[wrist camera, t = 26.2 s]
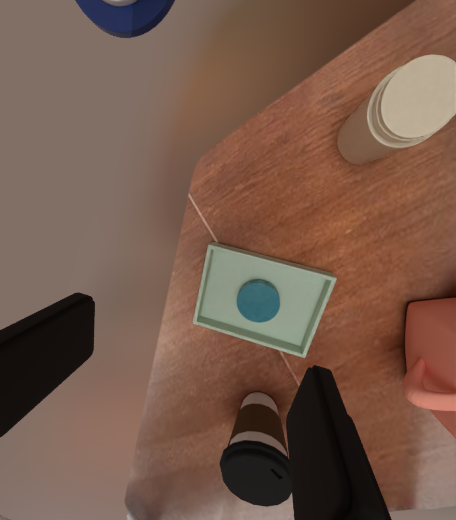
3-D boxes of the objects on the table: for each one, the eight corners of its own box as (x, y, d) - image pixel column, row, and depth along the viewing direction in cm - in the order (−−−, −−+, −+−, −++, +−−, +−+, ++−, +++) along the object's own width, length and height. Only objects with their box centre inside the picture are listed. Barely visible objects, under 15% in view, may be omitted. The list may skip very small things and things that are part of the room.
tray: (197, 316, 39) (192, 323, 36) (212, 241, 34) (208, 244, 32) (302, 348, 36) (304, 358, 34) (332, 272, 32) (337, 278, 30)
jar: (332, 163, 29) (366, 141, 19) (343, 106, 27) (388, 49, 17) (385, 166, 28) (453, 144, 18) (400, 107, 26) (485, 46, 16)
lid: (284, 285, 34) (285, 289, 32) (273, 321, 36) (274, 327, 34) (242, 274, 34) (241, 278, 33) (234, 310, 36) (232, 316, 35)
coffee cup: (263, 372, 39) (260, 441, 28) (300, 413, 40) (313, 497, 28) (220, 396, 42) (203, 467, 31) (256, 434, 43) (251, 516, 32)
